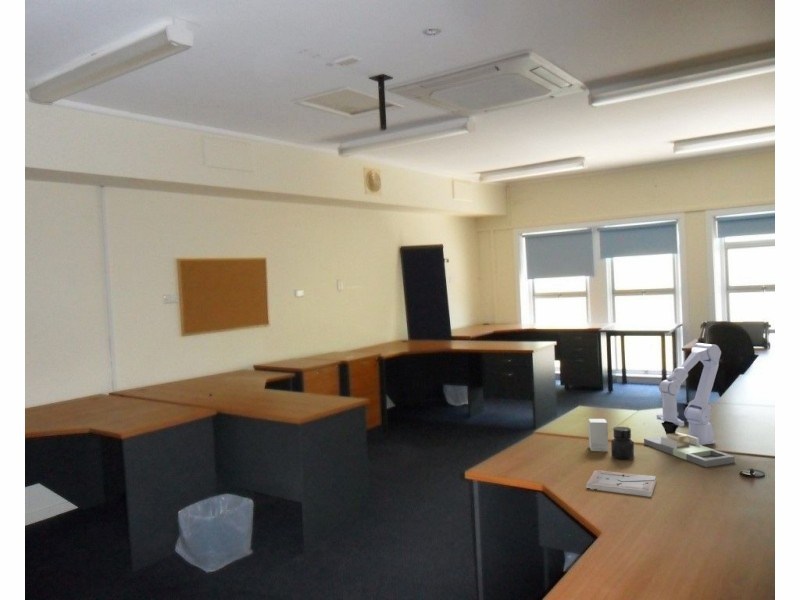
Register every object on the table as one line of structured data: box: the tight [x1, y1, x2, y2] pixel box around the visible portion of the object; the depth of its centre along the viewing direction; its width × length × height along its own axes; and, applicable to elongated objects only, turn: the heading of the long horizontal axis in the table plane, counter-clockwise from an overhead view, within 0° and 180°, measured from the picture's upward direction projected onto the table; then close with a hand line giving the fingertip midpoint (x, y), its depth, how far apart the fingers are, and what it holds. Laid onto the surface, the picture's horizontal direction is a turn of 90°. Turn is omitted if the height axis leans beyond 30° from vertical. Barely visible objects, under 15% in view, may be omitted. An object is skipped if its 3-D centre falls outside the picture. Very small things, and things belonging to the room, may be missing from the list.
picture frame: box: [585, 469, 657, 498], centre depth 218 cm, size 16×2×22 cm
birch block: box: [667, 431, 689, 447], centre depth 257 cm, size 6×6×4 cm
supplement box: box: [587, 418, 609, 452], centre depth 263 cm, size 7×7×13 cm
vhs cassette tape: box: [677, 402, 702, 425], centre depth 300 cm, size 18×3×10 cm, turn 58°
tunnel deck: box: [643, 433, 735, 468], centre depth 252 cm, size 14×36×6 cm, turn 16°
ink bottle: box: [610, 426, 635, 461], centre depth 250 cm, size 10×9×12 cm
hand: (670, 439), depth 261 cm, fingers closed
